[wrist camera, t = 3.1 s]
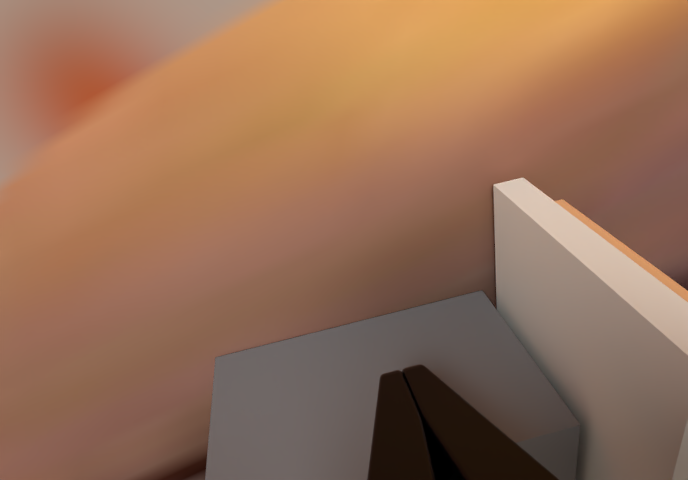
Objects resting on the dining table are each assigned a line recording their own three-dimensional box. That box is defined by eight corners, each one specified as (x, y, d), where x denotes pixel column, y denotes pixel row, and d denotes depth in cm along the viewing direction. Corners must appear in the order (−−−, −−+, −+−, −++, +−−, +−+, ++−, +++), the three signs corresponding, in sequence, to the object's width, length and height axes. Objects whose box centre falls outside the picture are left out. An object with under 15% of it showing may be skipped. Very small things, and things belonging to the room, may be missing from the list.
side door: (502, 525, 20) (603, 745, 15) (493, 184, 13) (701, 367, 7) (534, 516, 20) (648, 732, 15) (545, 171, 13) (793, 342, 7)
